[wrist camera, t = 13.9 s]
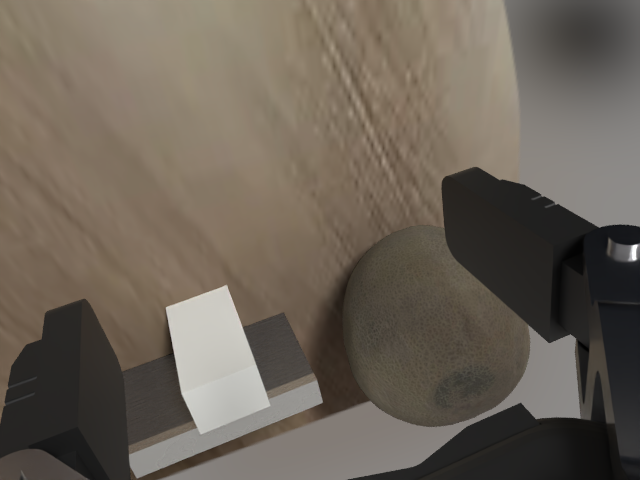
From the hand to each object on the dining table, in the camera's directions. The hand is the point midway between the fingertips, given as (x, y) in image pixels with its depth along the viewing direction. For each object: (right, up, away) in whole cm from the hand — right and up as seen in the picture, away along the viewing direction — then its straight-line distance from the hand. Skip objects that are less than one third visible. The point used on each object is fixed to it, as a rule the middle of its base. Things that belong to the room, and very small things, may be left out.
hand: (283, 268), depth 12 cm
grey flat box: (-9, -9, +35) cm, 37 cm away
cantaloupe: (+7, -2, +38) cm, 38 cm away
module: (-9, -5, +33) cm, 35 cm away
